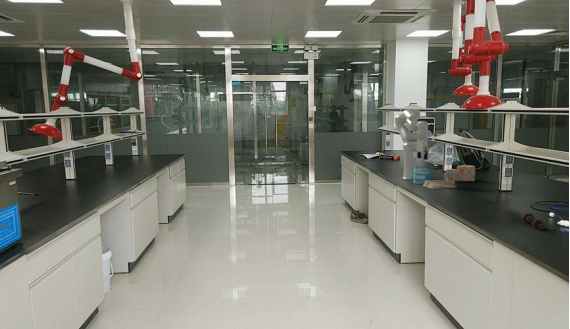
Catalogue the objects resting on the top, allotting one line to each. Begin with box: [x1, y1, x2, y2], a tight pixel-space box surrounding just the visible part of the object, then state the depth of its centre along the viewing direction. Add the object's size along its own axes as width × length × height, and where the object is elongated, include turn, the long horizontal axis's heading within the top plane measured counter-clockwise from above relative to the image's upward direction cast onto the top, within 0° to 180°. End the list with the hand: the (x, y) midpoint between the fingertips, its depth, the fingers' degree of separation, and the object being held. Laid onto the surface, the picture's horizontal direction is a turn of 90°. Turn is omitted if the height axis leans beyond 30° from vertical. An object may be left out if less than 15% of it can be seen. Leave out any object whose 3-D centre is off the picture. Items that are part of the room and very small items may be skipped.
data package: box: [413, 168, 431, 185], centre depth 328 cm, size 12×4×12 cm, turn 88°
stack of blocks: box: [445, 164, 476, 182], centre depth 338 cm, size 21×6×12 cm, turn 84°
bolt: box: [521, 212, 546, 231], centre depth 207 cm, size 6×5×15 cm
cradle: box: [422, 178, 457, 190], centre depth 316 cm, size 14×20×4 cm
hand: (422, 158), depth 326 cm, fingers open, 9 cm apart
